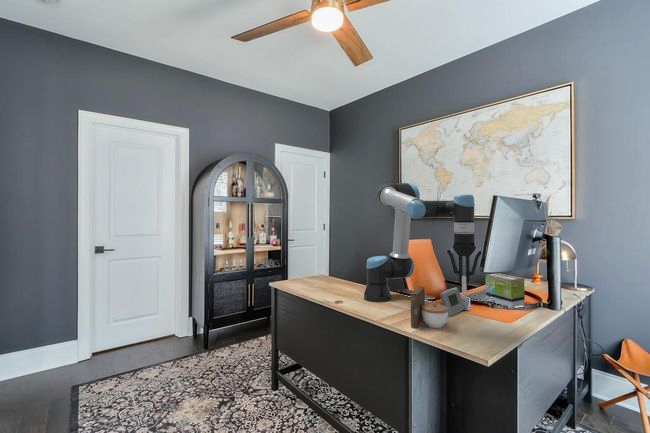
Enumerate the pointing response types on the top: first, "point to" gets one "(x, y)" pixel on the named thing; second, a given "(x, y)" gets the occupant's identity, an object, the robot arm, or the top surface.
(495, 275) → the tea box
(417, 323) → the walnut board
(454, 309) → the digital clock
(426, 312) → the lidded jar
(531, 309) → the top surface
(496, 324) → the top surface
